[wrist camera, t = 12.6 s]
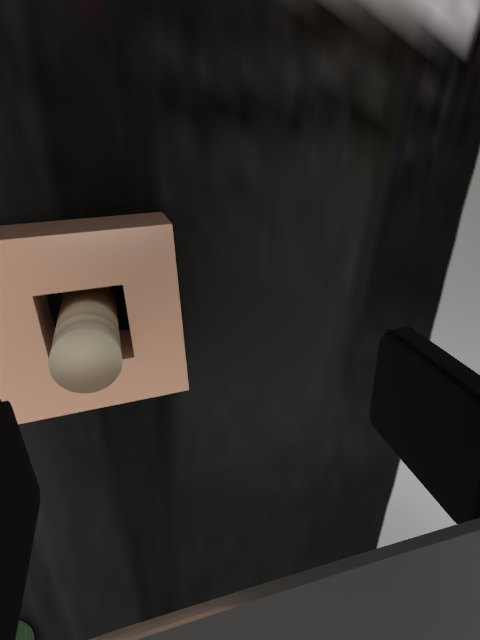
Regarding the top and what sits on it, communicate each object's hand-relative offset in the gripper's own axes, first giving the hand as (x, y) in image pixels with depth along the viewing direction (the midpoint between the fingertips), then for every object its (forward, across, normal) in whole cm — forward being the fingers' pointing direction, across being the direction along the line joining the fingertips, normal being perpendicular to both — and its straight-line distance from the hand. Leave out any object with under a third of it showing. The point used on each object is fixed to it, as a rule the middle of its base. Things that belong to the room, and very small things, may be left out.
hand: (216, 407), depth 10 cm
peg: (+24, +5, +6) cm, 25 cm away
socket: (+24, +5, +6) cm, 25 cm away
